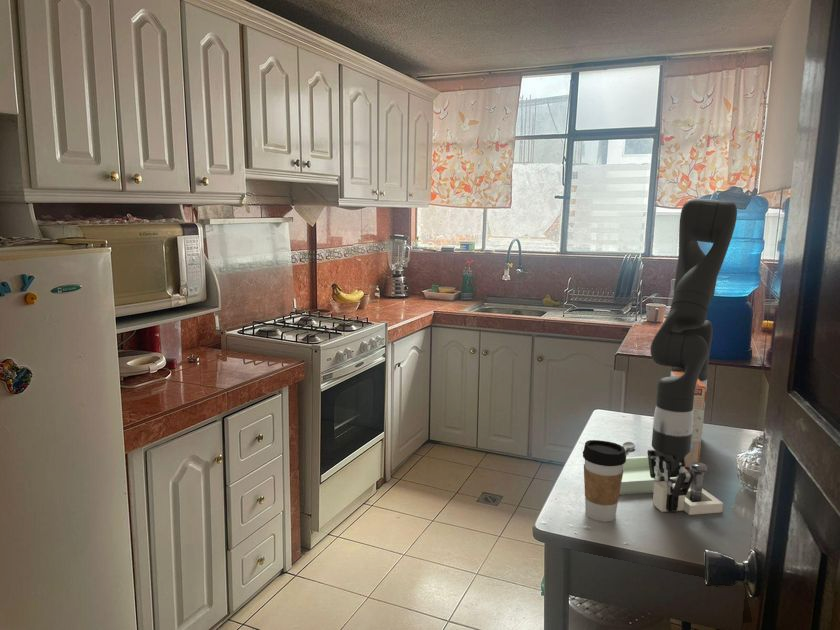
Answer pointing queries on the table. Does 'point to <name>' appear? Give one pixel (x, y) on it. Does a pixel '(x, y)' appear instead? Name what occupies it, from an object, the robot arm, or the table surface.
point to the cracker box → (695, 420)
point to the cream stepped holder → (686, 501)
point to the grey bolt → (697, 481)
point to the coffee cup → (602, 478)
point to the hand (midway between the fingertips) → (665, 505)
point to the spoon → (628, 446)
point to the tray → (637, 476)
